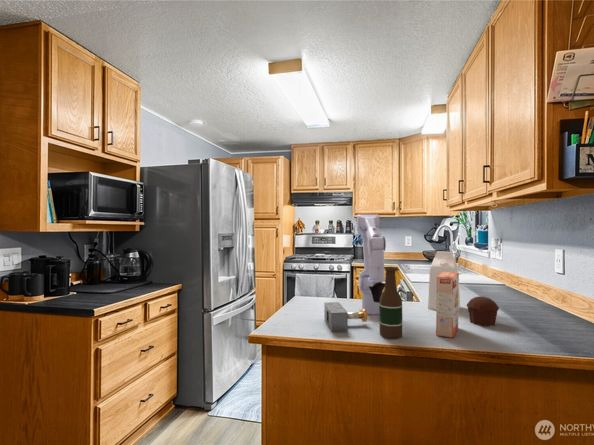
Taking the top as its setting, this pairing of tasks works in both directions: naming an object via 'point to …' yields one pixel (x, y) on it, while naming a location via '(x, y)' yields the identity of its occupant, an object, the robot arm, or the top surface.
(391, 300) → the beer bottle
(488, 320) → the muffin
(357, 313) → the pin
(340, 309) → the block
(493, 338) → the top surface
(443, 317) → the cracker box
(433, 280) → the milk
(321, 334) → the top surface
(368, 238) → the robot arm
